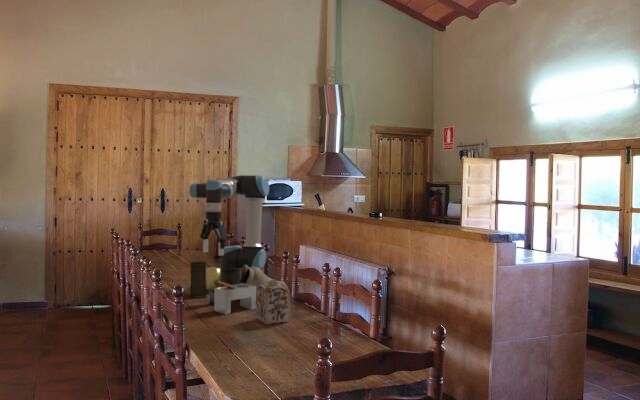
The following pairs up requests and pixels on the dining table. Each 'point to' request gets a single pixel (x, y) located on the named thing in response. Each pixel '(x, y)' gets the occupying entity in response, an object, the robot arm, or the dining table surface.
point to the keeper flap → (226, 284)
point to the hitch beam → (234, 297)
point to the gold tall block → (212, 282)
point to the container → (198, 280)
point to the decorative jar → (273, 302)
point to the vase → (254, 277)
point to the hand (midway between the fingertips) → (213, 253)
